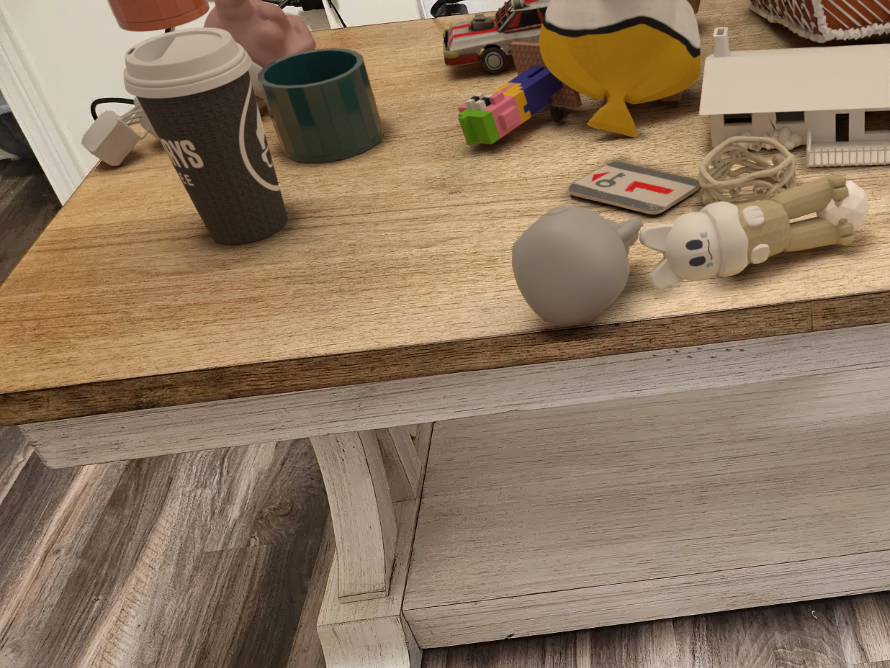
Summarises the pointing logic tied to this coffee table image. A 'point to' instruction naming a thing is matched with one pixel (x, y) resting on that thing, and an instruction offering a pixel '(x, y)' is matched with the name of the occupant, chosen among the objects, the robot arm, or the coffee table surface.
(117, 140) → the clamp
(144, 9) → the cup
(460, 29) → the toy car
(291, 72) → the teal round container
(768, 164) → the bracelet
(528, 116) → the figurine
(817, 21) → the gingerbread house
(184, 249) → the coffee table surface
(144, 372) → the coffee table surface
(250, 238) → the coffee cup
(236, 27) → the figurine
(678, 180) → the token
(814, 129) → the house
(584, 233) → the figurine
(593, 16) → the fish
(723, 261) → the rabbit figurine
